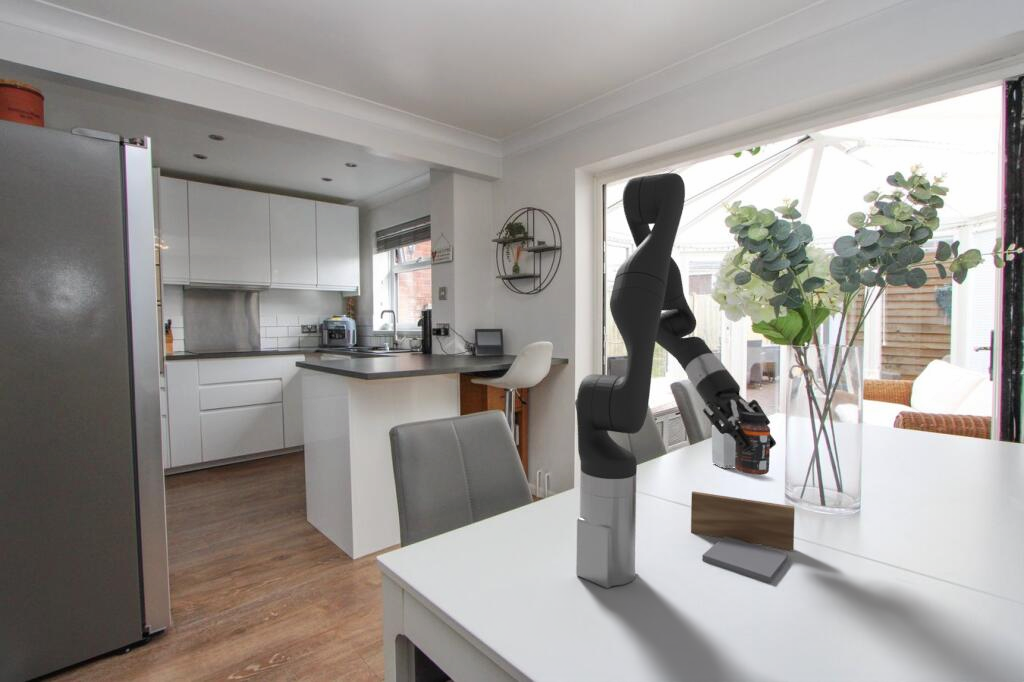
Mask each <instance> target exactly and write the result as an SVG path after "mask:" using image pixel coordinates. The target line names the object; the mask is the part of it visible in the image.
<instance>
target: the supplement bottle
mask: <svg viewBox="0 0 1024 682" xmlns="http://www.w3.org/2000/svg"><path fill="white" fill-rule="evenodd" d="M765 415H766V413H765V414H763V413H758V412H742V419H743V421H742V422H739V424H740V428H741V429H740V430H743V431H744V433H745V434H746V435H747V437H748V438H749V440H750V441H751V442H752V444H753V448H752V449H750V450H749V451H748V452H743V451H742V449H741V448H740V447H739V446H738V444H737V442H736V446H735V468H736V470H737V471H739V472H741V473H744V474H750V475H759V476H760V475H762V476H763V475H766V474H768V473H769V472H770V457H771V455H770V452H771V451H770V450H771V449H770V434H771V428H770V427H769V425H766V423H765Z"/></svg>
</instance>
